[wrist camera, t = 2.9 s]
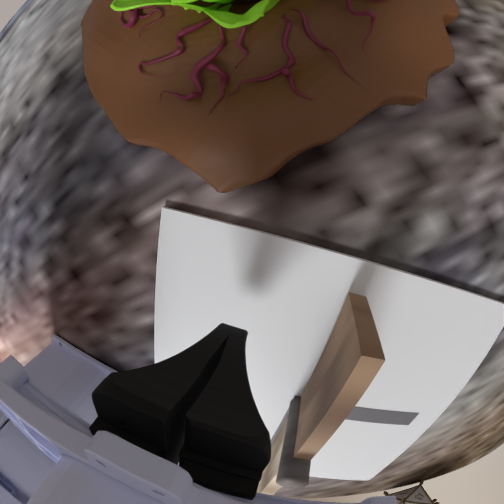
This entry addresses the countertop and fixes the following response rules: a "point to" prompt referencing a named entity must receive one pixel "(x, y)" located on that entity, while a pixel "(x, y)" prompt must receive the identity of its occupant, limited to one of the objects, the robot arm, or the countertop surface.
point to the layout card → (320, 330)
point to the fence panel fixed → (285, 458)
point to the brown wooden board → (339, 376)
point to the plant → (257, 74)
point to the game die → (412, 496)
